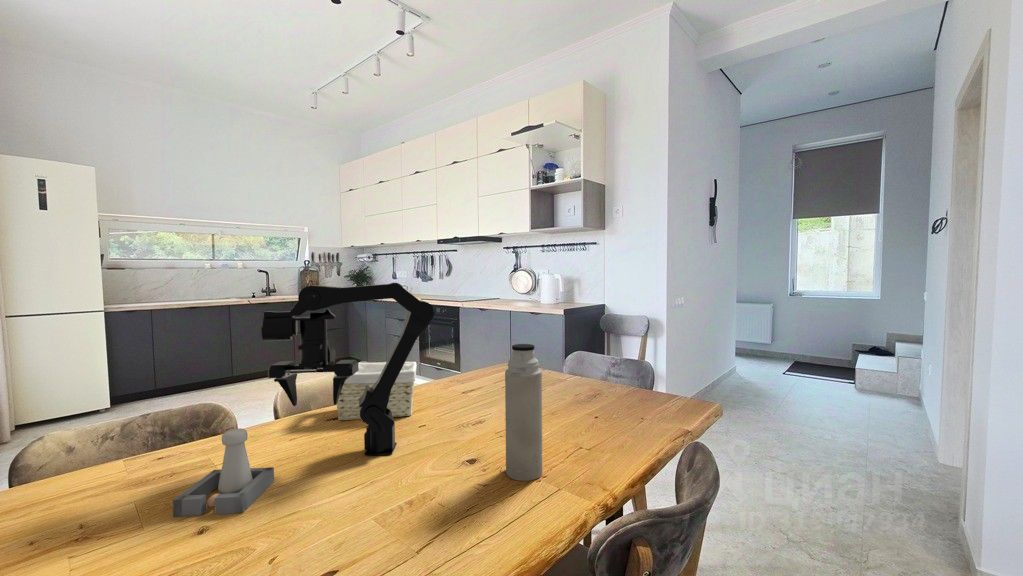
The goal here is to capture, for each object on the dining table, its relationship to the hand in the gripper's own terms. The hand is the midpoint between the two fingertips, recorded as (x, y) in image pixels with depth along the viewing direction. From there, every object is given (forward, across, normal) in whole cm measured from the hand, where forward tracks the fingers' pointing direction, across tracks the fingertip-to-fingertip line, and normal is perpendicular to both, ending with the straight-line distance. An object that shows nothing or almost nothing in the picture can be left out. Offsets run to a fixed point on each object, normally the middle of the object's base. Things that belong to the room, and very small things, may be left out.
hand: (315, 405), depth 99 cm
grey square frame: (+13, +11, +16) cm, 23 cm away
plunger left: (+12, +11, +20) cm, 26 cm away
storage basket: (+13, -6, -34) cm, 37 cm away
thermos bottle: (+13, -48, +11) cm, 51 cm away
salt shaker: (+13, +10, +15) cm, 22 cm away
